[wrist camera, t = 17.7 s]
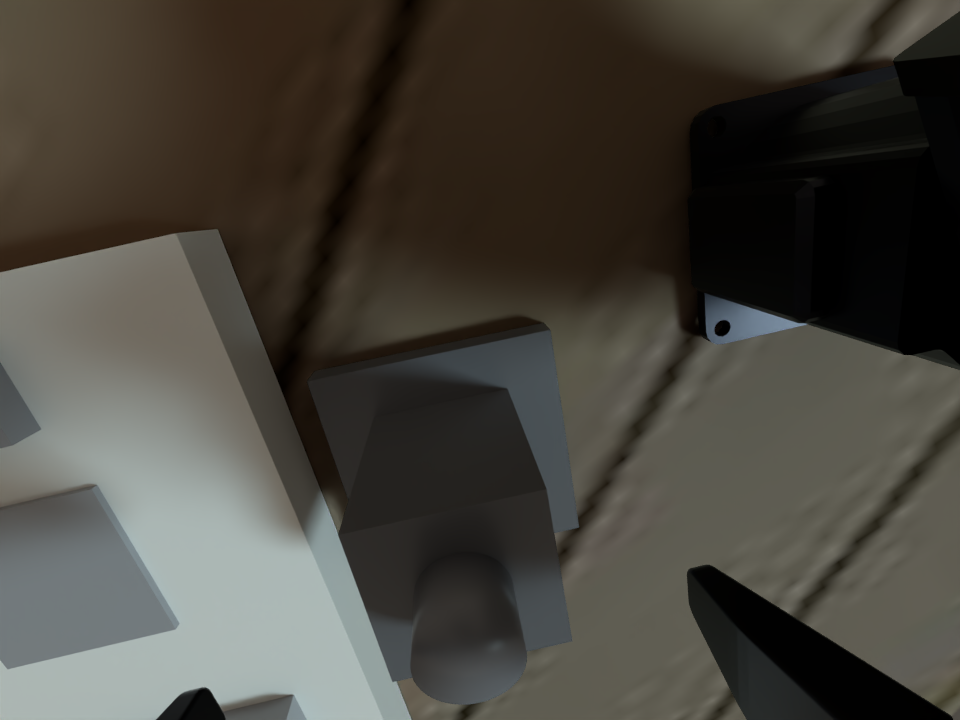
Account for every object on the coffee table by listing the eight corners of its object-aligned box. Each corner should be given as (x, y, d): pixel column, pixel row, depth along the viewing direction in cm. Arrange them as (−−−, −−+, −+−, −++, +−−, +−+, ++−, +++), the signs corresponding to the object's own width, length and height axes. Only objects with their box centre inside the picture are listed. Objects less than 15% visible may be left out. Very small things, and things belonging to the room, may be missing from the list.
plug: (542, 321, 14) (655, 443, 7) (570, 508, 16) (676, 747, 9) (316, 369, 14) (182, 547, 6) (377, 551, 16) (329, 828, 9)
